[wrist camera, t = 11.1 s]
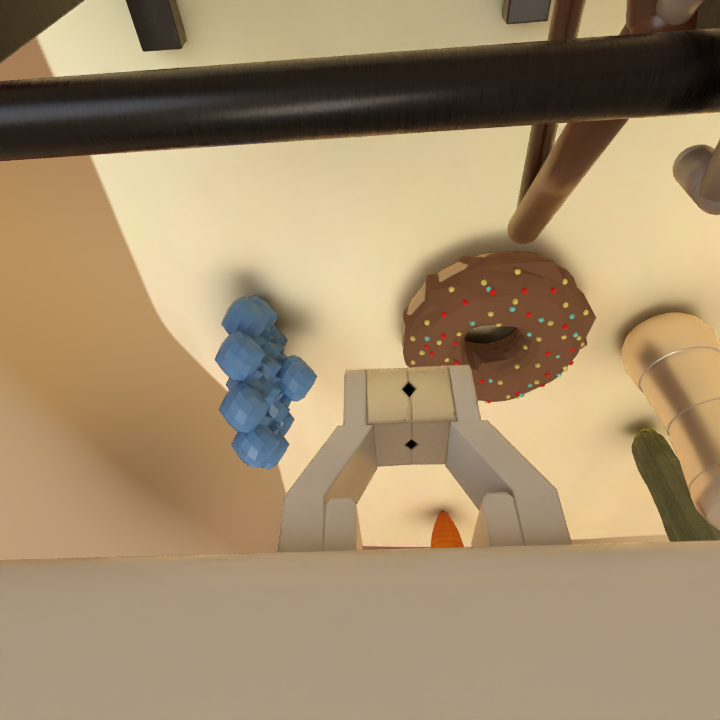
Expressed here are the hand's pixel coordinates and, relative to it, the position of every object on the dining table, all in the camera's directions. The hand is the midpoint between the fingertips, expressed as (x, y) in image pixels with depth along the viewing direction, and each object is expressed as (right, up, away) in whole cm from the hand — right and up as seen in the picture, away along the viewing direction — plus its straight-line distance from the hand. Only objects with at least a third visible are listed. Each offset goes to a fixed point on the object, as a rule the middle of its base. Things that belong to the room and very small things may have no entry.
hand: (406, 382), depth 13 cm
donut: (+9, +5, +28) cm, 29 cm away
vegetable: (+28, -6, +40) cm, 49 cm away
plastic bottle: (+23, +3, +30) cm, 38 cm away
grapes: (-8, +4, +29) cm, 30 cm away
